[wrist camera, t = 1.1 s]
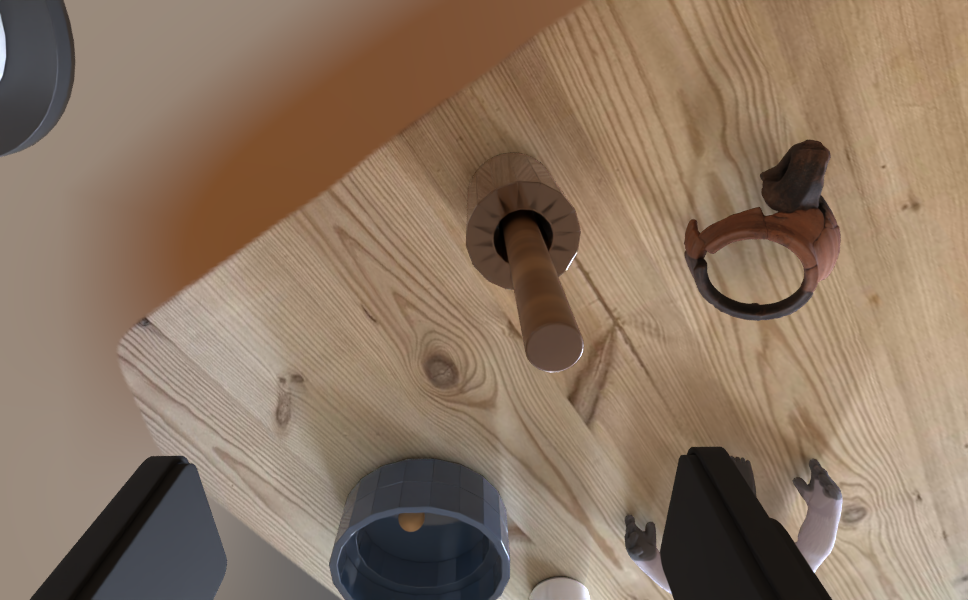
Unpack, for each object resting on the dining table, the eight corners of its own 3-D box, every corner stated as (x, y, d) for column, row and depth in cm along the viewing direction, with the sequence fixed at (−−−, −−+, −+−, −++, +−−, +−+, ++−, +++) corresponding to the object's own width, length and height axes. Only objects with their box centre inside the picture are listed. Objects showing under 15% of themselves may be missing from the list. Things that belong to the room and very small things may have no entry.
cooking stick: (493, 190, 35) (518, 332, 17) (521, 180, 35) (576, 315, 17) (502, 217, 36) (534, 379, 18) (529, 208, 35) (590, 363, 17)
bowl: (317, 479, 47) (297, 534, 41) (475, 434, 45) (476, 486, 39) (384, 582, 53) (374, 641, 48) (524, 547, 51) (531, 605, 46)
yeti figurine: (608, 464, 49) (635, 596, 57) (620, 522, 43) (648, 659, 51) (828, 433, 45) (823, 577, 54) (875, 491, 39) (860, 643, 48)
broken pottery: (809, 274, 39) (811, 346, 34) (682, 250, 43) (665, 311, 37) (879, 122, 31) (896, 181, 26) (716, 107, 35) (701, 157, 29)
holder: (455, 169, 35) (450, 204, 27) (541, 139, 34) (563, 165, 26) (483, 250, 37) (487, 303, 29) (564, 223, 37) (591, 271, 28)
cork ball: (396, 501, 47) (392, 522, 45) (420, 495, 47) (417, 516, 45) (405, 518, 48) (402, 540, 46) (429, 512, 48) (427, 533, 46)
